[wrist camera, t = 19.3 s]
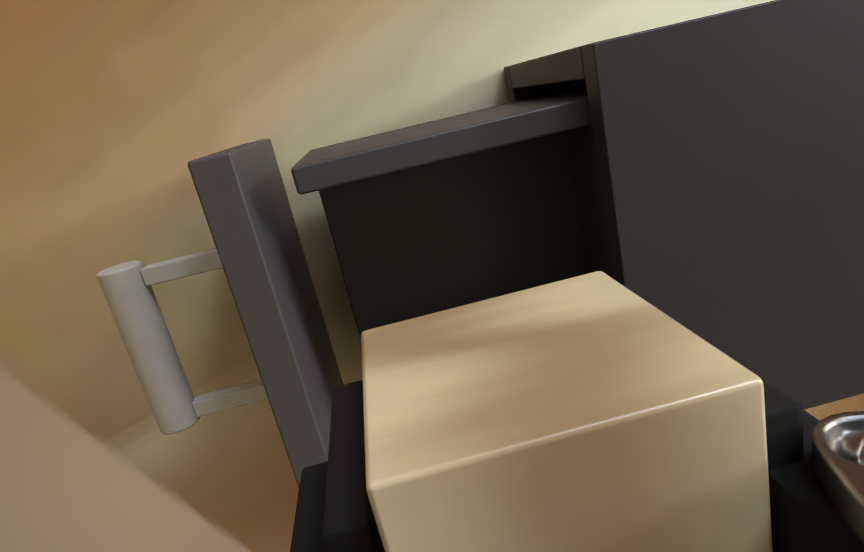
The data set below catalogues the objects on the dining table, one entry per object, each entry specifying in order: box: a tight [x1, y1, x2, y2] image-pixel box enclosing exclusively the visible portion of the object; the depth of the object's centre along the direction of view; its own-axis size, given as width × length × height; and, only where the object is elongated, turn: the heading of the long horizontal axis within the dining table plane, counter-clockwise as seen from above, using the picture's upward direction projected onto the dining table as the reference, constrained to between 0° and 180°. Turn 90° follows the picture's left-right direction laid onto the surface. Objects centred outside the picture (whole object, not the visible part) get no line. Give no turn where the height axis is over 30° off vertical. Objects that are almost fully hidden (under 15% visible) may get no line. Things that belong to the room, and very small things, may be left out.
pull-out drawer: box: [97, 87, 613, 487], centre depth 22 cm, size 18×12×8 cm, turn 103°
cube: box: [361, 271, 773, 552], centre depth 9 cm, size 4×4×4 cm
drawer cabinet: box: [504, 0, 864, 410], centre depth 22 cm, size 15×13×10 cm
